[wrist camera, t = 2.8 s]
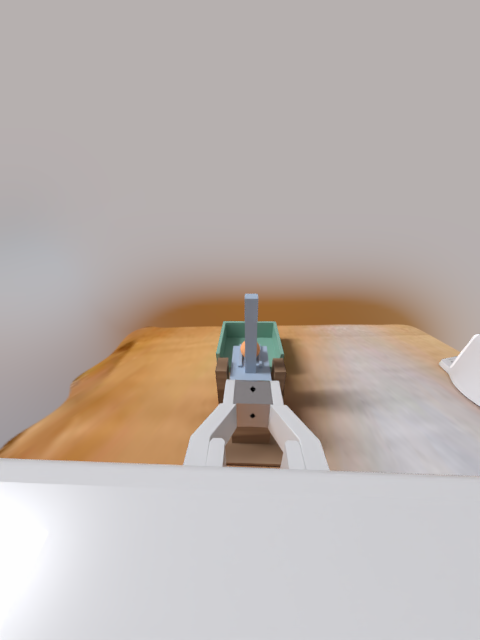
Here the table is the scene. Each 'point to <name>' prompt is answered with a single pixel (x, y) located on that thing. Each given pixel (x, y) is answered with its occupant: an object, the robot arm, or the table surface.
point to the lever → (250, 348)
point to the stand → (251, 441)
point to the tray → (235, 336)
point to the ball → (244, 349)
